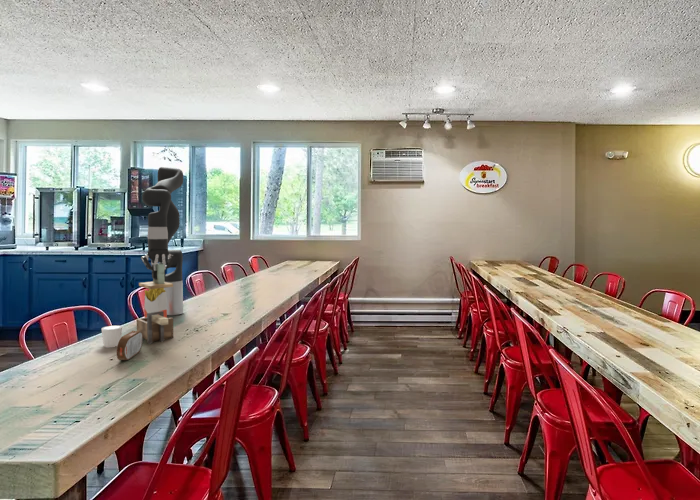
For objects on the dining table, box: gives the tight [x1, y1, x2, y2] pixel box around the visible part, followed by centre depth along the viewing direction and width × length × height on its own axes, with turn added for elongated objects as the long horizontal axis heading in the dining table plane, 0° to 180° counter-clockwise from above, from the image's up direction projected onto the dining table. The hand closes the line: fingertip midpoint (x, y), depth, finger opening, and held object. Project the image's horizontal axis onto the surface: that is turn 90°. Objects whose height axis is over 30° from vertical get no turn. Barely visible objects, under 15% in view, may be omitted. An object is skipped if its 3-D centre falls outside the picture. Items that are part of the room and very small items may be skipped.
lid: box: [138, 262, 173, 290], centre depth 165 cm, size 12×9×9 cm
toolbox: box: [136, 311, 174, 345], centre depth 164 cm, size 16×10×12 cm, turn 48°
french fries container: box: [143, 288, 168, 318], centre depth 188 cm, size 5×11×18 cm, turn 60°
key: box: [152, 314, 169, 325], centre depth 155 cm, size 10×2×2 cm, turn 48°
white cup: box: [101, 324, 123, 348], centre depth 153 cm, size 7×7×7 cm
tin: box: [116, 330, 144, 361], centre depth 141 cm, size 15×3×8 cm, turn 5°
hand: (158, 279), depth 167 cm, fingers closed on lid
